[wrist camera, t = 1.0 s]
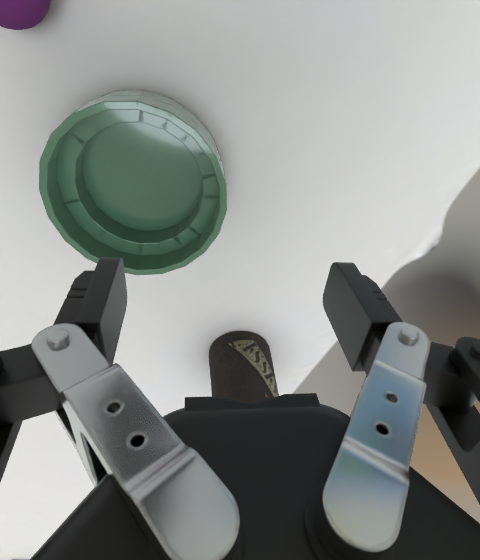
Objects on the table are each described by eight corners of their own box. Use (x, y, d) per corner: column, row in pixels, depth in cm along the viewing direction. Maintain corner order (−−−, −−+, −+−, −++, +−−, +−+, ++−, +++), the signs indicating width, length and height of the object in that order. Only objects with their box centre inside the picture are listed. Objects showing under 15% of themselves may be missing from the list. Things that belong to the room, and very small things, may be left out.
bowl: (26, 125, 32) (-5, 143, 27) (187, 62, 30) (185, 69, 25) (113, 261, 40) (102, 293, 35) (241, 218, 39) (248, 245, 34)
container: (272, 366, 53) (306, 516, 37) (212, 376, 53) (220, 531, 37) (267, 323, 48) (304, 475, 32) (201, 335, 48) (204, 492, 32)
